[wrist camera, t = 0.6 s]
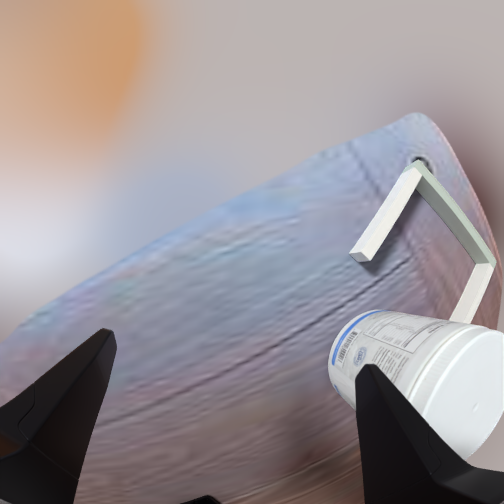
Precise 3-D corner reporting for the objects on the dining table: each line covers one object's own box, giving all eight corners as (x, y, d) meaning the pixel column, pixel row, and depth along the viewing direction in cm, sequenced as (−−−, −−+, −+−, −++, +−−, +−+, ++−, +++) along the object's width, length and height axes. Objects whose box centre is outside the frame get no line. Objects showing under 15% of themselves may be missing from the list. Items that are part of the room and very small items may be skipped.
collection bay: (441, 346, 26) (455, 350, 23) (348, 253, 25) (360, 251, 23) (483, 262, 27) (496, 261, 25) (405, 167, 27) (418, 159, 24)
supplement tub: (411, 377, 25) (508, 424, 11) (333, 413, 24) (410, 501, 10) (400, 293, 26) (518, 303, 11) (315, 325, 25) (413, 377, 10)
